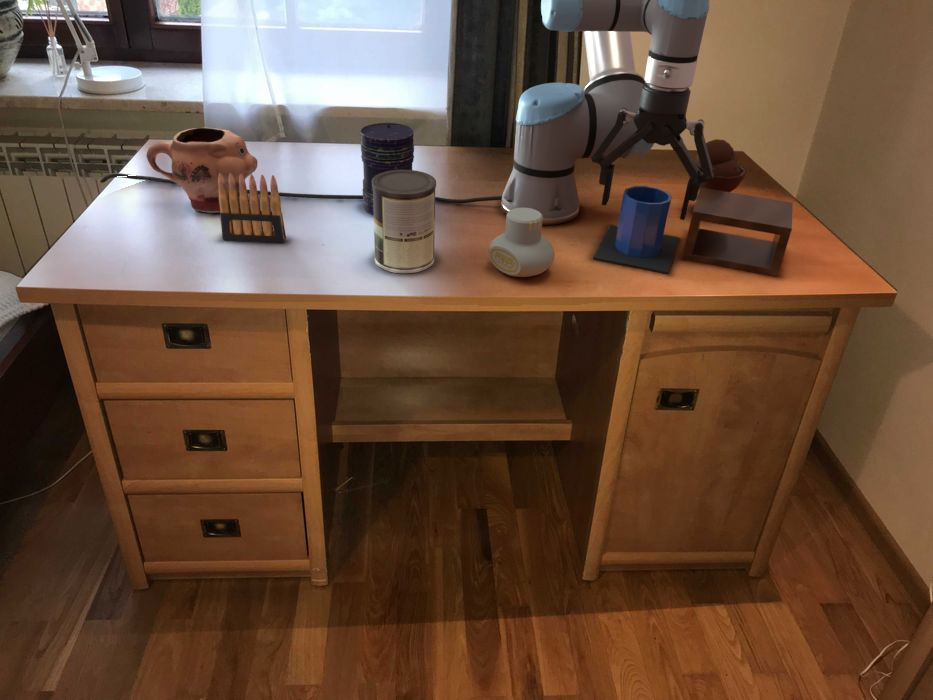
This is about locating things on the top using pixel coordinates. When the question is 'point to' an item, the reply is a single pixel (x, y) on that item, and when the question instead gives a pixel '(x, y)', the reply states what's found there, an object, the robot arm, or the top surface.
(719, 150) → the ice cream bowl
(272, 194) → the ammunition clip
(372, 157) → the storage jar
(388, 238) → the coffee can
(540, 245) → the air freshener
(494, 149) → the top surface
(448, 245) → the top surface
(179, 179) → the decorative planter
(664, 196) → the cup
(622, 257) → the mat
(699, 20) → the robot arm
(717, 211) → the shelf
